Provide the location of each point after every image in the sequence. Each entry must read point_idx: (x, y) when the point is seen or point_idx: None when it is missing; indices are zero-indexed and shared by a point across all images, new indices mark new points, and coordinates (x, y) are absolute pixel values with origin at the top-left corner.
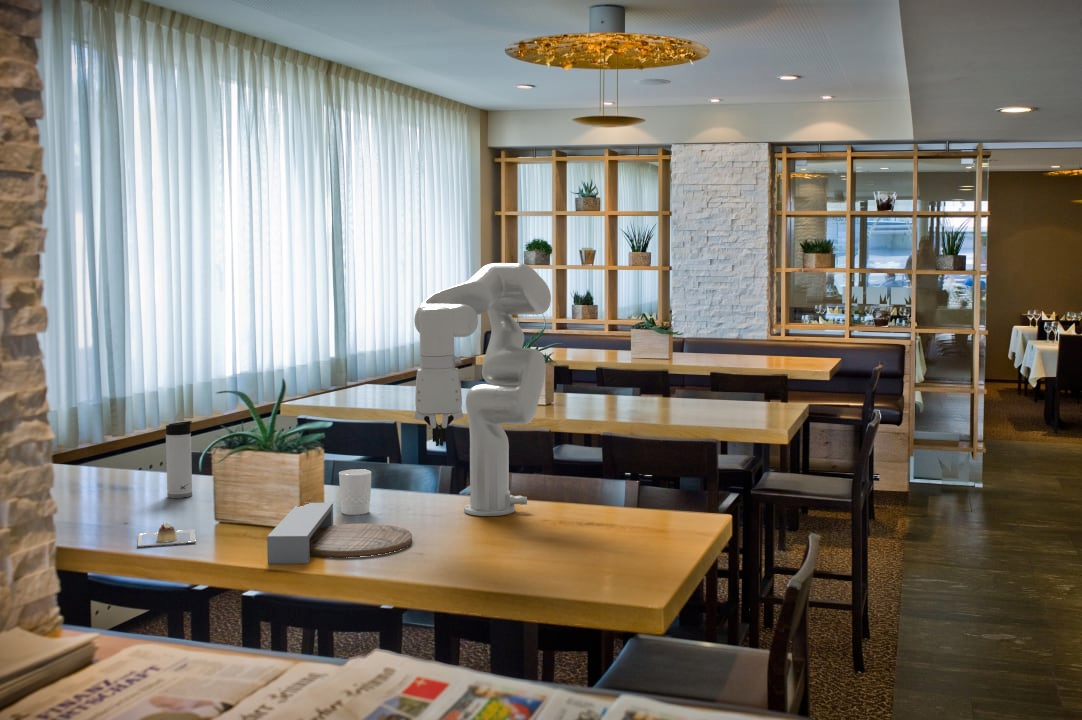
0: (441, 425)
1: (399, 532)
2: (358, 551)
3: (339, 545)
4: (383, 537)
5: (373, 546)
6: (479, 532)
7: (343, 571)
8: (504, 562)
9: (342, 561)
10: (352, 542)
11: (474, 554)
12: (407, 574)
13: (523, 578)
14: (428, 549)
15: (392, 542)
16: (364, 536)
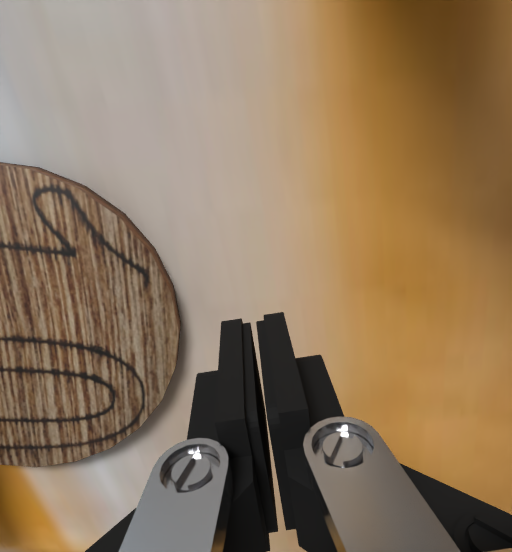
0: (313, 542)
1: (125, 272)
2: (86, 455)
3: (16, 424)
4: (100, 334)
5: (108, 421)
6: (353, 155)
7: None
8: (425, 440)
9: (68, 476)
10: (36, 393)
11: (356, 389)
12: None
13: None
14: None
15: (144, 381)
16: (40, 330)
